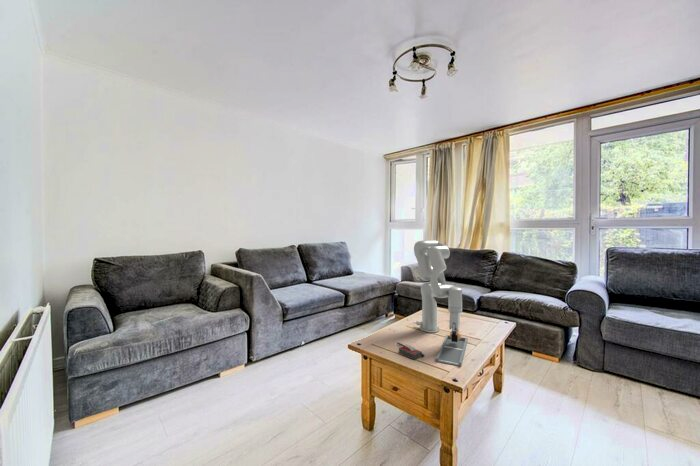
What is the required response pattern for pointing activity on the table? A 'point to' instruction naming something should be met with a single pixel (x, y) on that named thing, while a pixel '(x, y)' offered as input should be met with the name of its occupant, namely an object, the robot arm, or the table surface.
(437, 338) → the table surface
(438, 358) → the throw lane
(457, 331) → the ball
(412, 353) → the walkie-talkie
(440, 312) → the table surface
